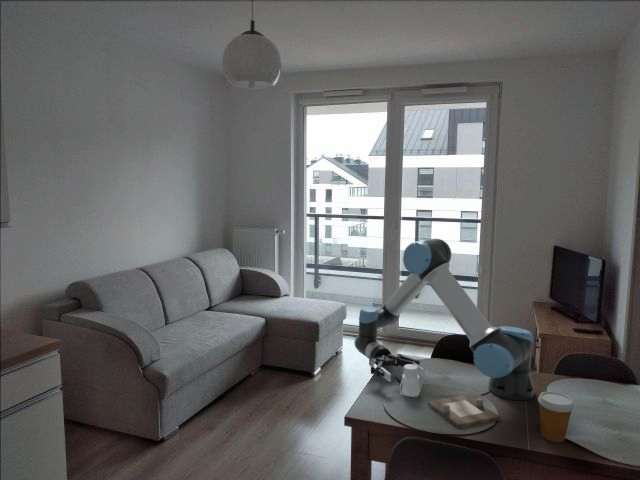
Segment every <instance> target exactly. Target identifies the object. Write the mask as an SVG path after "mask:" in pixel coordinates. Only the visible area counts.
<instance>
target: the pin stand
mask: <svg viewBox="0 0 640 480" xmlns="http://www.w3.org/2000/svg"><path fill="white" fill-rule="evenodd" d="M428 405H429V406H428ZM427 406H428V407H430V406H431V407H432V408H433V409H432V408H431V407H430V408H431V409H432V410H433V411H435V410H436V411H437V412H438V414H439V413H440V414H441V415H442V416H441V415H440V414H439V415H440V416H441V417H442V418H444V419H445V418H446V419H447V420H446V419H445V420H446V421H448V422H449V423H450V424H451V423H452V425H453V426H454V427H456V429H462V428H469V427H471V426H477V425H481V424H486V423H492V422H495V421H500V420H501V416H500V415H499V414H497V413H496V412H495V411H492V410H491V409H490V408H488V407H487V406H485V405H484V399H482V398H479V397H478V398H473V397H472V396H470V395H469V394H462V395H457V396H451V397H446V398H441V399H440V398H439V399H434V400H428V401H427ZM436 411H435V412H436ZM437 412H436V413H437Z"/></svg>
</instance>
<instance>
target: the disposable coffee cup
mask: <svg viewBox="0 0 640 480" xmlns="http://www.w3.org/2000/svg"><path fill="white" fill-rule="evenodd" d="M537 401H538V405H539V419H540V423H539V424H540V436H541V437H543V438H544V439H545V440H548V441H551V442H554V443H561V442H564V441H565V439H566V434H567V431H568V426H569V423H570V418H571V416H572V411H573V409H574V408H575V404H574V401H573V399H572V398H571V397H569V396H568V395H566V394H563V393H560V392H556V391H543V392H541V393H540V394H539V396H538V398H537Z"/></svg>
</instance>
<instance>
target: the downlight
mask: <svg viewBox="0 0 640 480" xmlns="http://www.w3.org/2000/svg"><path fill="white" fill-rule="evenodd" d="M417 371H418V367H417V366H416V365H413V364H407V365H405V366H404V367H403V374H402V377H401V381H400V385H399V391H401V390H402V392H403V394H405V395H407V396H416V395H418V394H419V392H421V389H422V386H423V380H422V379H420V375H419V374H418V372H417ZM401 387H402V389H401Z"/></svg>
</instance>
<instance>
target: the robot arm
mask: <svg viewBox="0 0 640 480" xmlns="http://www.w3.org/2000/svg"><path fill="white" fill-rule="evenodd" d="M451 259H452V250H451V247H450V246H449V244H448V243H447V242H446V241H444V240H443V239H440V238H430V239H423V240H416V241H414V242H411V243H410V244H409V245H408V246H406V248H405V249H404V251H403V257H402V262H403V266H404V267H405V269H406V270H407V272H409V273H410V274H408V276H407V278H405V280H404V281H403V282H402V283H401V285H400V286H399V287H398V288H397V289H396V290H395V292H394V293H393V294H392V295H391V296H390V298H389V299H388V300H387V301H386V303H385V304H384V305H383V306H382V307H381V308H380V309H376V308H374V307H363V308H361V309H360V310H359V318H358V334H357V336H356V337H355V338H354V339H355V340H354V343H353V344H354V347H355V348H356V349H357V351H358V352H359V353H360V354H362V355H363V356H365V357H366V358H368V365H369V366H370V375H375V376H376V377H382V378H383V379H385V380H386V381H387V382H388V383H389V382H392V373H390V372H389V371H388V370H387V369H386V368H384V367H388V366H389V367H390V366H393V367H403V368H404V366H405V365H407V364H413V365H416V366H417V367H418V371H417V372H418V375H419V376H421V377H422V378H423V377H425V369H424V368H423V367H422V366H421V364H420V362H421V361H420V360H418V359H415V358H412V357H409V356H405V355H403V354H401V353H398V354H397V356H396V355H393V354H392V353H391V351H390V350H389V349H388V348H387V347H385V345H383V344H381V343H379V342H378V330H379V329H382V328H385V327H387V326H392V325H394V324H396V323H397V322H398V321H399V319H400V317H401V314H402V313H403V311H405V309H407V307H408V306H409V305H410V303H411V302H412V301H413V300H414V299H415V298H416V297H417V296H418V295H419V293H421V291H423V289H424V288H425V287H426V286H427V284H428V285H430V287H431V289H432V290H433V291H434V292H435V294H436V295H437V298H439V300H440V301H441V303H442V304H443V305H444V306H445V308H446V309H447V311H448V312H449V314H451V316H452V317H453V318H454V320H455V322H456V323H457V324H458V326H459V327H460V329H461V330H462V332H464V334H465V335H466V337H467V338H468V340H469V349H470V351H472V353H473V363H474V365H475V367H476V369H477V370H478V371H479V372H480V373H481V374H483V375H484V376H486V377H488V378H489V380H488V384H487V385H488V386H487V387H488V389H489V391H490V392H491V393H492V394H494V395H496V396H498V397H500V398H504V399H507V400H513V401H527V400H531V399H532V398H533V397H534V395H535V394H534V393H535V388H534V384H533V380H532V376H531V366H532V365H531V364H532V363H531V362H532V353H533V343H534V340H533V339H534V337H533V336H534V335H533V333H532V332H531V331H530V330H527V329H524V328H520V327H514V326H508V325H502V326H499V327H495V326H493V325H492V324H491V323H489V321H488V320H487V319H486V317H485V316H484V314H483V313H482V312H481V310H480V309H479V308H478V307H477V305H476V304H475V303H474V301H473V300H472V299H471V297H470V296H469V295H468V294H467V292H466V290H464V288H463V287H462V286H461V284H460V283H459V281H458V280H457V279H456V278H455V276H454V275H453V274H452V272H451V271H450V261H451ZM375 366H376V367H375Z"/></svg>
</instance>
